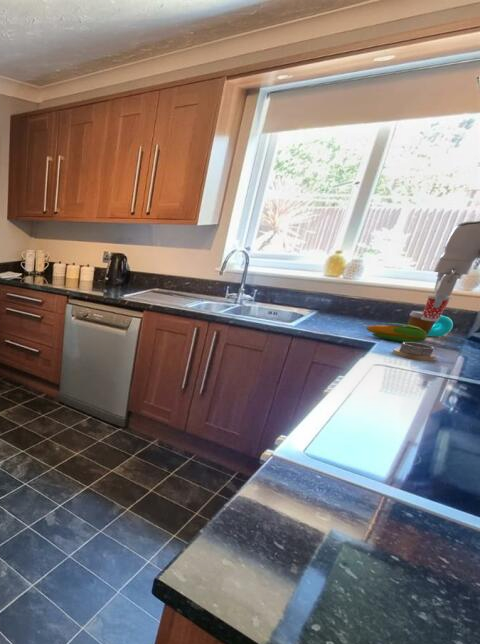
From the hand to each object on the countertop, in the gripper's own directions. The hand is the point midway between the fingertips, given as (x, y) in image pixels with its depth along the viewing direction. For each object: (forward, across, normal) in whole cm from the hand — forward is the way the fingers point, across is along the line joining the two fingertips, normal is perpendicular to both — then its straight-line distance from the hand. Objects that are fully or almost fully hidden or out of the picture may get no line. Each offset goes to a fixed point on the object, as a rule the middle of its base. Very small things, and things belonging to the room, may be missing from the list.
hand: (435, 305), depth 159 cm
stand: (+20, 0, 0) cm, 20 cm away
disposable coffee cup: (+20, +40, 0) cm, 45 cm away
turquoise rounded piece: (+20, +57, -5) cm, 61 cm away
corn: (+20, +28, +7) cm, 35 cm away
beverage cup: (+6, 0, 0) cm, 6 cm away
